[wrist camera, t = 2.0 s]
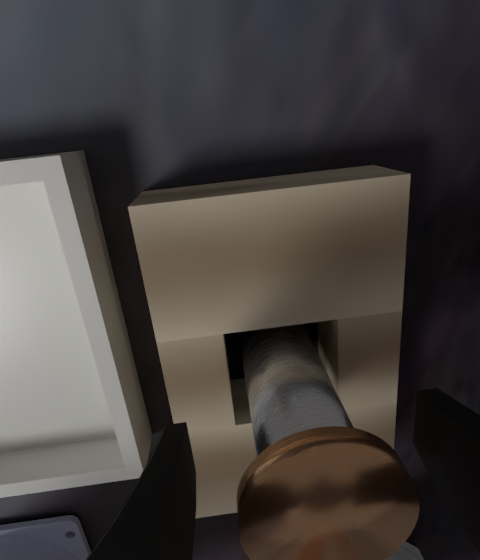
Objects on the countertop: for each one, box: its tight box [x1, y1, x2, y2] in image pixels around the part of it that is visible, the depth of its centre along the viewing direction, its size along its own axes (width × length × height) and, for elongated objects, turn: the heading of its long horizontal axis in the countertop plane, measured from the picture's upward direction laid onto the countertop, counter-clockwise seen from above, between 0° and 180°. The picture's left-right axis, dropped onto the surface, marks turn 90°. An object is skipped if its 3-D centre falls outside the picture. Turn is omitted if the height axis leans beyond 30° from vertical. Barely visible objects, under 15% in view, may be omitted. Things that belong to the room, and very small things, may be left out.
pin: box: [236, 324, 420, 560], centre depth 14 cm, size 4×4×9 cm
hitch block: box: [128, 165, 411, 519], centre depth 16 cm, size 14×9×3 cm, turn 6°
